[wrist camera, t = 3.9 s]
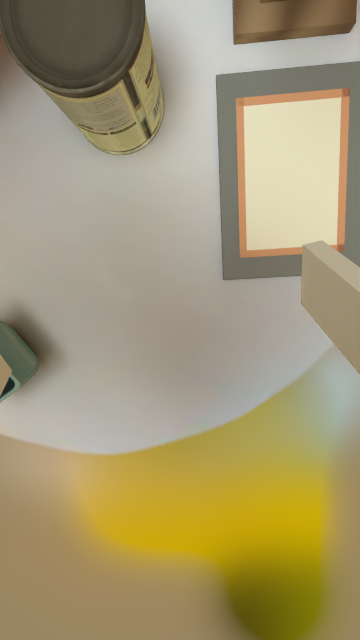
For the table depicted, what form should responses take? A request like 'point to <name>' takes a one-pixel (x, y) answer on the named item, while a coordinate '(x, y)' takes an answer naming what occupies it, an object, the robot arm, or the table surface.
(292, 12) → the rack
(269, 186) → the pad
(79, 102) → the coffee can
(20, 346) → the flower pot
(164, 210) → the table surface
